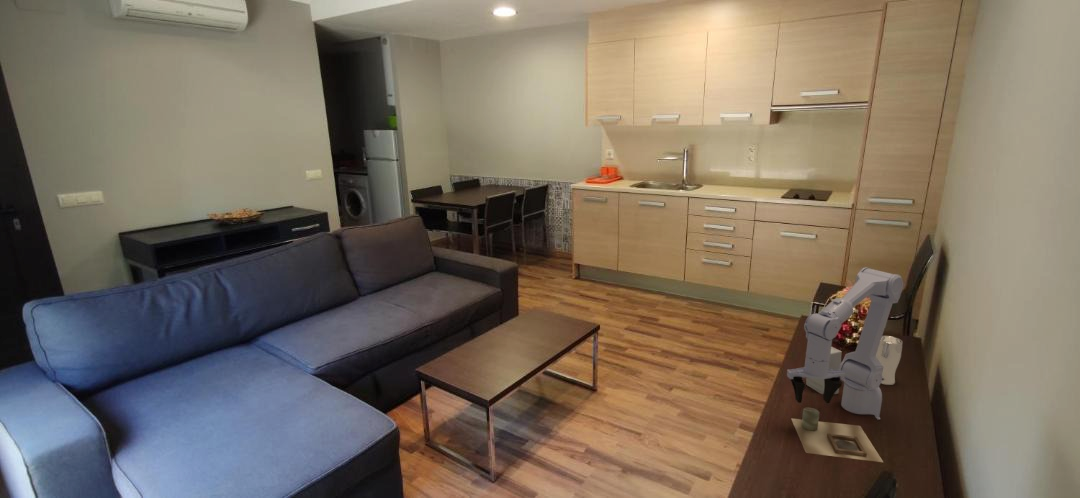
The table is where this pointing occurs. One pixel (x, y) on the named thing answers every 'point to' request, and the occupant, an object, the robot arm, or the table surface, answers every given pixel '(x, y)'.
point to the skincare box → (833, 364)
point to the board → (837, 441)
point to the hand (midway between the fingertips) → (812, 401)
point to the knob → (810, 419)
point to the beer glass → (889, 357)
